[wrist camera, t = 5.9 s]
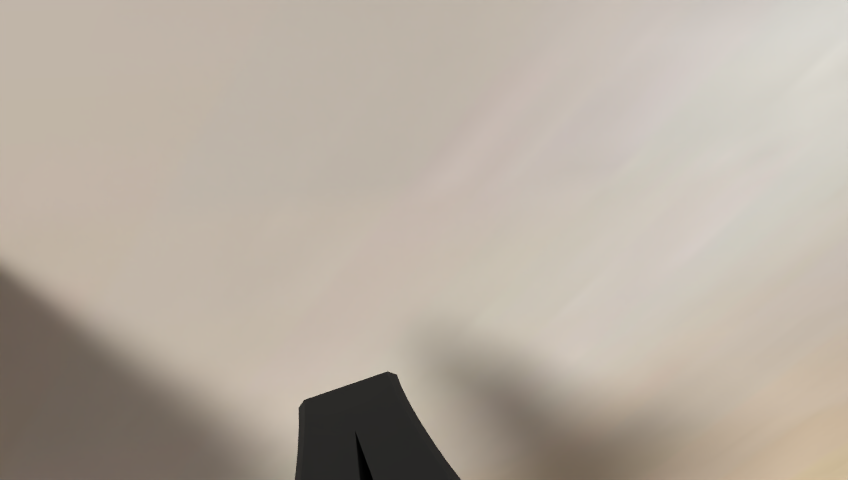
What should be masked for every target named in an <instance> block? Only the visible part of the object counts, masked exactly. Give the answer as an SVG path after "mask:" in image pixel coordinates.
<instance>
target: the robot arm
mask: <svg viewBox="0 0 848 480" xmlns="http://www.w3.org/2000/svg"><path fill="white" fill-rule="evenodd" d="M295 480H461V479H460V478H459V477H458V475H457V474H456V473H455V472H454V470H453V469H452V468H451V466H450V465H449V464H448V462H447V461H446V460H445V458H444V457H443V455H442V454H441V452H440V451H439V450H438V448H437V447H436V445H435V444H434V442H433V441H432V439H431V438H430V436H429V435H428V433H427V432H426V430H425V428H424V427H423V425H422V424H421V422H420V421H419V419H418V417H417V415H416V414H415V412H414V410H413V409H412V407H411V405H410V403H409V401H408V399H407V397H406V395H405V393H404V391H403V389H402V387H401V385H400V382H399V379H398V377H397V375H396V374H393V373H390V372H385V373H382V374H379V375H376V376H373V377H370V378H367V379H364V380H361V381H359V382H356V383H353V384H350V385H347V386H344V387H341V388H338V389H335V390H332V391H329V392H326V393H323V394H320V395H318V396H315V397H312V398H309V399H306V400H304V401H303V403H302V404H301V406H300V407H299V437H298V454H297V466H296V475H295Z"/></svg>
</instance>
